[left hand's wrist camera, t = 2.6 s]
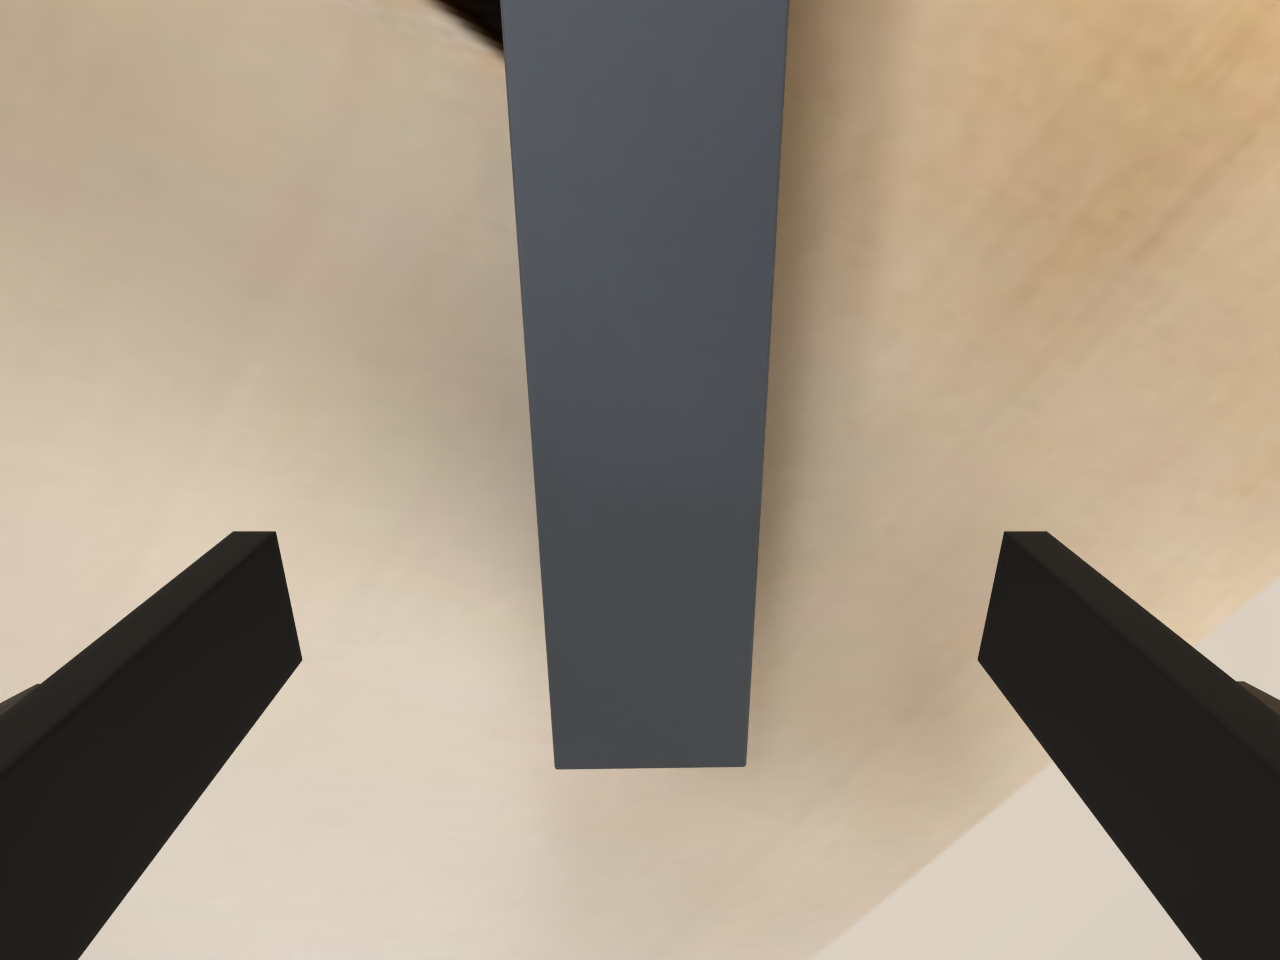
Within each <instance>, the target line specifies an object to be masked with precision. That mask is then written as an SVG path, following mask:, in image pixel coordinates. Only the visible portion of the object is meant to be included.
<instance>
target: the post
mask: <svg viewBox="0 0 1280 960" xmlns="http://www.w3.org/2000/svg"><path fill="white" fill-rule="evenodd" d="M500 2H501V16H502V30H503V45H504V59H505V73H506V87H507V101H508V115H509V129H510V143H511V157H512V171H513V185H514V200H515V214H516V228H517V242H518V256H519V270H520V284H521V298H522V312H523V326H524V340H525V355H526V369H527V383H528V397H529V411H530V425H531V439H532V453H533V467H534V481H535V495H536V510H537V524H538V538H539V552H540V566H541V580H542V594H543V608H544V622H545V636H546V650H547V664H548V679H549V693H550V707H551V721H552V735H553V749H554V763H555V768H556V769H621V768H694V767H744V766H745V765H746V757H747V740H748V722H749V704H750V687H751V669H752V651H753V634H754V616H755V598H756V580H757V563H758V545H759V527H760V510H761V492H762V474H763V457H764V439H765V421H766V404H767V386H768V368H769V350H770V333H771V315H772V297H773V280H774V262H775V244H776V227H777V209H778V191H779V174H780V156H781V138H782V120H783V103H784V85H785V67H786V50H787V32H788V14H789V0H500Z"/></svg>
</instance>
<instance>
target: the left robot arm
mask: <svg viewBox="0 0 1280 960" xmlns="http://www.w3.org/2000/svg"><path fill="white" fill-rule="evenodd" d="M301 661H302V655H301V651H300V646H299V641H298V636H297V631H296V627H295V622H294V617H293V612H292V607H291V603H290V598H289V593H288V588H287V583H286V578H285V574H284V569H283V564H282V559H281V554H280V550H279V545H278V540H277V535H276V531H233V532H232V533H231V534H229V535H228V536H227V537H226V538H224V539H223V540H222V541H221V542H219V543H218V544H217V545H216V546H214V547H213V548H212V549H210V550H209V551H208V552H207V553H205V554H204V555H203V556H202V557H200V558H199V559H198V560H197V561H195V562H194V563H193V564H192V565H190V566H189V567H188V568H186V569H185V570H184V571H183V572H181V573H180V574H179V575H178V576H176V577H175V578H174V579H173V580H171V581H170V582H169V583H168V584H166V585H165V586H164V587H163V588H161V589H160V590H159V591H157V592H156V593H155V594H154V595H152V596H151V597H150V598H149V599H147V600H146V601H145V602H144V603H142V604H141V605H140V606H139V607H137V608H136V609H135V610H133V611H132V612H131V613H130V614H128V615H127V616H126V617H125V618H123V619H122V620H121V621H120V622H118V623H117V624H116V625H115V626H113V627H112V628H111V629H109V630H108V631H107V632H106V633H104V634H103V635H102V636H101V637H99V638H98V639H97V640H96V641H94V642H93V643H92V644H91V645H89V646H88V647H87V648H85V649H84V650H83V651H82V652H80V653H79V654H78V655H77V656H75V657H74V658H73V659H72V660H70V661H69V662H68V663H67V664H65V665H64V666H63V667H61V668H60V669H59V670H58V671H56V672H55V673H54V674H53V675H51V676H50V677H49V678H48V679H46V680H45V681H44V682H43V683H41V684H36V685H34V686H32V687H30V688H28V689H26V690H25V691H23V692H21V693H19V694H17V695H15V696H13V697H11V698H9V699H7V700H6V701H4V702H2V703H0V960H78V959H79V958H80V956H81V955H82V954H83V952H84V951H85V950H86V948H87V947H88V946H89V944H90V943H91V942H92V940H93V939H94V938H95V936H96V935H97V934H98V932H99V931H100V930H101V928H102V927H103V925H104V924H105V923H106V921H107V920H108V919H109V917H110V916H111V915H112V913H113V912H114V911H115V909H116V908H117V907H118V905H119V904H120V903H121V901H122V900H123V899H124V897H125V896H126V895H127V893H128V892H129V891H130V889H131V888H132V887H133V885H134V884H135V883H136V881H137V880H138V879H139V877H140V876H141V875H142V873H143V872H144V871H145V869H146V868H147V867H148V865H149V864H150V863H151V861H152V860H153V859H154V857H155V856H156V855H157V853H158V852H159V851H160V849H161V848H162V847H163V845H164V844H165V843H166V841H167V840H168V839H169V837H170V836H171V835H172V833H173V832H174V831H175V829H176V828H177V827H178V825H179V824H180V823H181V821H182V820H183V819H184V817H185V816H186V815H187V813H188V812H189V811H190V809H191V808H192V807H193V805H194V804H195V803H196V801H197V800H198V799H199V797H200V796H201V795H202V793H203V792H204V791H205V789H206V788H207V787H208V785H209V784H210V783H211V781H212V780H213V779H214V777H215V776H216V775H217V773H218V772H219V771H220V769H221V768H222V767H223V765H224V764H225V763H226V761H227V760H228V759H229V757H230V756H231V755H232V753H233V752H234V751H235V749H236V748H237V747H238V745H239V744H240V743H241V741H242V740H243V739H244V737H245V736H246V735H247V733H248V732H249V731H250V729H251V728H252V727H253V725H254V724H255V723H256V721H257V720H258V719H259V717H260V716H261V715H262V713H263V712H264V711H265V709H266V708H267V707H268V705H269V704H270V703H271V701H272V700H273V699H274V697H275V696H276V695H277V693H278V692H279V691H280V689H281V688H282V687H283V685H284V684H285V683H286V681H287V680H288V679H289V677H290V676H291V675H292V673H293V672H294V671H295V669H296V668H297V667H298V665H299V664H300V663H301ZM978 661H979V663H980V664H981V665H982V667H983V668H984V669H985V671H986V672H987V673H988V675H989V676H990V677H991V679H992V680H993V681H994V683H995V684H996V685H997V687H998V688H999V689H1000V691H1001V692H1002V693H1003V695H1004V696H1005V697H1006V699H1007V700H1008V701H1009V703H1010V704H1011V705H1012V707H1013V708H1014V709H1015V711H1016V712H1017V713H1018V715H1019V716H1020V717H1021V719H1022V720H1023V721H1024V723H1025V724H1026V725H1027V727H1028V728H1029V729H1030V731H1031V732H1032V733H1033V735H1034V736H1035V737H1036V739H1037V740H1038V741H1039V743H1040V744H1041V745H1042V747H1043V748H1044V749H1045V751H1046V752H1047V753H1048V755H1049V756H1050V757H1051V759H1052V760H1053V761H1054V763H1055V764H1056V765H1057V767H1058V768H1059V769H1060V771H1061V772H1062V773H1063V775H1064V776H1065V777H1066V779H1067V780H1068V781H1069V783H1070V784H1071V785H1072V787H1073V788H1074V789H1075V791H1076V792H1077V793H1078V795H1079V796H1080V797H1081V799H1082V800H1083V801H1084V803H1085V804H1086V805H1087V807H1088V808H1089V809H1090V811H1091V812H1092V813H1093V815H1094V816H1095V817H1096V819H1097V820H1098V821H1099V823H1100V824H1101V825H1102V827H1103V828H1104V829H1105V831H1106V832H1107V833H1108V835H1109V836H1110V837H1111V839H1112V840H1113V841H1114V843H1115V844H1116V845H1117V847H1118V848H1119V849H1120V851H1121V852H1122V853H1123V855H1124V856H1125V857H1126V859H1127V860H1128V861H1129V863H1130V864H1131V865H1132V867H1133V868H1134V869H1135V871H1136V872H1137V873H1138V875H1139V876H1140V877H1141V879H1142V880H1143V881H1144V883H1145V884H1146V885H1147V887H1148V888H1149V889H1150V891H1151V892H1152V893H1153V895H1154V896H1155V897H1156V899H1157V900H1158V901H1159V903H1160V904H1161V905H1162V907H1163V908H1164V909H1165V911H1166V912H1167V913H1168V915H1169V916H1170V917H1171V919H1172V920H1173V921H1174V923H1175V924H1176V925H1177V927H1178V928H1179V930H1180V931H1181V932H1182V934H1183V935H1184V936H1185V938H1186V939H1187V940H1188V941H1189V943H1190V944H1191V946H1192V947H1193V948H1194V950H1195V951H1196V952H1197V953H1198V955H1199V956H1200V958H1201V959H1202V960H1280V700H1278V699H1276V698H1274V697H1273V696H1271V695H1269V694H1267V693H1265V692H1263V691H1261V690H1259V689H1257V688H1255V687H1253V686H1252V685H1250V684H1248V683H1246V682H1244V681H1238V682H1237V681H1235V680H1234V679H1232V678H1231V677H1230V676H1229V675H1227V674H1226V673H1225V672H1224V671H1222V670H1221V669H1220V668H1219V667H1217V666H1216V665H1215V664H1213V663H1212V662H1211V661H1210V660H1208V659H1207V658H1206V657H1205V656H1203V655H1202V654H1201V653H1200V652H1198V651H1197V650H1196V649H1195V648H1193V647H1192V646H1191V645H1189V644H1188V643H1187V642H1186V641H1184V640H1183V639H1182V638H1181V637H1179V636H1178V635H1177V634H1176V633H1174V632H1173V631H1172V630H1171V629H1169V628H1168V627H1167V626H1165V625H1164V624H1163V623H1162V622H1160V621H1159V620H1158V619H1157V618H1155V617H1154V616H1153V615H1152V614H1150V613H1149V612H1148V611H1147V610H1145V609H1144V608H1143V607H1141V606H1140V605H1139V604H1138V603H1136V602H1135V601H1134V600H1133V599H1131V598H1130V597H1129V596H1128V595H1126V594H1125V593H1124V592H1123V591H1121V590H1120V589H1119V588H1117V587H1116V586H1115V585H1114V584H1112V583H1111V582H1110V581H1109V580H1107V579H1106V578H1105V577H1104V576H1102V575H1101V574H1100V573H1099V572H1097V571H1096V570H1095V569H1094V568H1092V567H1091V566H1090V565H1088V564H1087V563H1086V562H1085V561H1083V560H1082V559H1081V558H1080V557H1078V556H1077V555H1076V554H1075V553H1073V552H1072V551H1071V550H1070V549H1068V548H1067V547H1066V546H1064V545H1063V544H1062V543H1061V542H1059V541H1058V540H1057V539H1056V538H1054V537H1053V536H1052V535H1051V534H1049V533H1048V532H1047V531H1004V535H1003V540H1002V545H1001V550H1000V554H999V559H998V564H997V569H996V574H995V578H994V583H993V588H992V593H991V598H990V602H989V607H988V612H987V617H986V622H985V627H984V631H983V636H982V641H981V646H980V651H979V655H978Z"/></svg>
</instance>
